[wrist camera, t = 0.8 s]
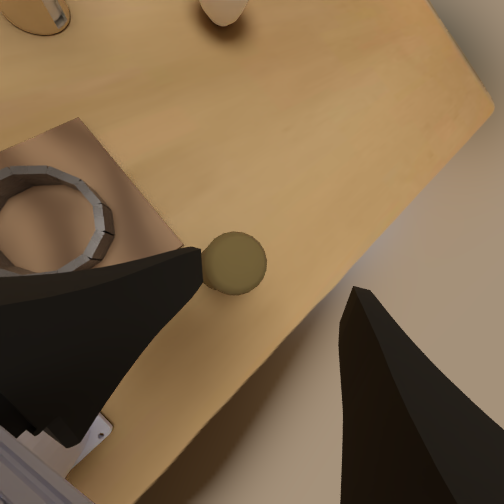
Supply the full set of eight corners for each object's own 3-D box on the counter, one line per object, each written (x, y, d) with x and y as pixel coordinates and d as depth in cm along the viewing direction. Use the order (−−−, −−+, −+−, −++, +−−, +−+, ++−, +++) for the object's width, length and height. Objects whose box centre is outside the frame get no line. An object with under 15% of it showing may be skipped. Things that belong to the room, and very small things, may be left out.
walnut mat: (30, 356, 19) (25, 358, 19) (-114, 208, 18) (-125, 206, 17) (183, 244, 24) (183, 244, 24) (81, 121, 23) (78, 117, 22)
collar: (37, 304, 19) (14, 308, 17) (-46, 216, 18) (-83, 207, 16) (135, 238, 22) (128, 234, 20) (69, 159, 21) (52, 145, 19)
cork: (229, 299, 25) (253, 318, 15) (187, 274, 24) (180, 276, 13) (253, 258, 26) (290, 249, 16) (214, 233, 25) (226, 206, 15)
